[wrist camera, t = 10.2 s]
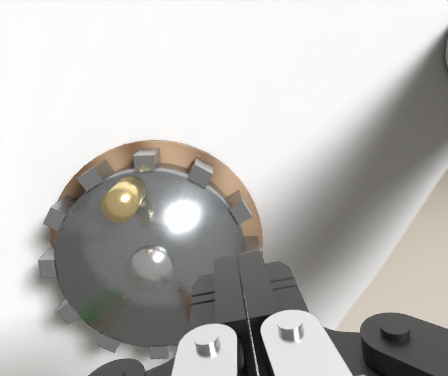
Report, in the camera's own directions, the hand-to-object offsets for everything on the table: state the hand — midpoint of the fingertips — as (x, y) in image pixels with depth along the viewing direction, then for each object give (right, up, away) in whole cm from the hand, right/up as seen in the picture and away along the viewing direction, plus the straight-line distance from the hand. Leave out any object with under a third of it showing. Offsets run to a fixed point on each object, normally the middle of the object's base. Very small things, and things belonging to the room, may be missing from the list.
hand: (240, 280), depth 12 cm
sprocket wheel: (-7, -3, +27) cm, 28 cm away
